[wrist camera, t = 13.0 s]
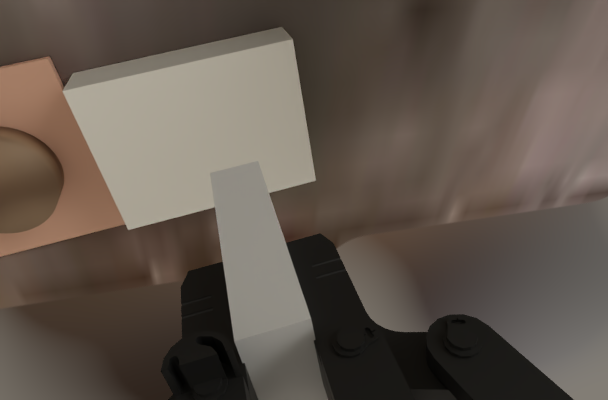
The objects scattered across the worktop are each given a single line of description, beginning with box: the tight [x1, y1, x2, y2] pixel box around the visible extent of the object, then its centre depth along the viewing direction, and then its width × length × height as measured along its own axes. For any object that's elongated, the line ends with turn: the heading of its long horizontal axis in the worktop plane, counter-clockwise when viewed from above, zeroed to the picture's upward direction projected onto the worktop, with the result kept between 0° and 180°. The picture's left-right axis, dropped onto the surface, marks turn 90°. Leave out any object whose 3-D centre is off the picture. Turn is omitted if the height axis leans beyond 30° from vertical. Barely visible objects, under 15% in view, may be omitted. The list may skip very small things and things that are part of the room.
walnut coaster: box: [0, 126, 64, 234], centre depth 35 cm, size 8×8×2 cm
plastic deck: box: [62, 27, 316, 230], centre depth 37 cm, size 12×16×4 cm
